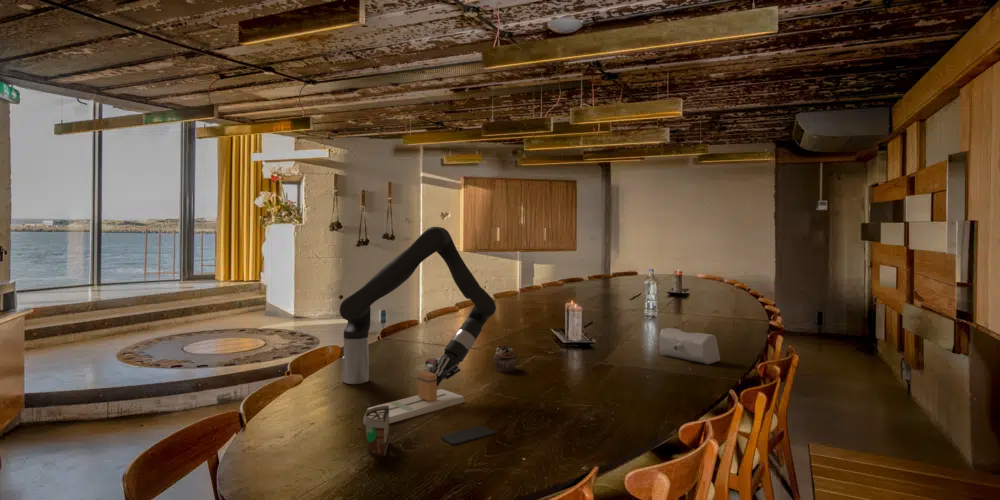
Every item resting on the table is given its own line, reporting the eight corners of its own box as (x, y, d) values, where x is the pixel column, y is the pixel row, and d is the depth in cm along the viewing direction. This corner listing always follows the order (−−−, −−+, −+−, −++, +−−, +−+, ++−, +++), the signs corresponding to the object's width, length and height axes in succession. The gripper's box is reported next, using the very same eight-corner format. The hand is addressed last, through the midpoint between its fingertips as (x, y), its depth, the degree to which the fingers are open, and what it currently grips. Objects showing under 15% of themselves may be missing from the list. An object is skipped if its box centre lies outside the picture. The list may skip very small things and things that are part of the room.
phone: (496, 432, 160) (452, 444, 151) (496, 435, 160) (452, 447, 151) (482, 425, 165) (438, 436, 156) (481, 427, 165) (438, 438, 156)
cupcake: (520, 370, 230) (520, 346, 230) (501, 374, 225) (501, 349, 224) (507, 365, 238) (507, 342, 238) (488, 369, 232) (488, 345, 232)
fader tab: (425, 395, 188) (425, 371, 188) (436, 399, 184) (436, 374, 184) (418, 397, 186) (417, 373, 186) (429, 401, 182) (428, 376, 181)
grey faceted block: (651, 357, 255) (651, 330, 254) (671, 352, 265) (671, 326, 264) (701, 367, 235) (701, 338, 235) (720, 361, 245) (721, 334, 245)
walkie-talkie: (420, 365, 239) (435, 377, 221) (420, 355, 239) (435, 366, 221) (439, 363, 243) (455, 374, 225) (439, 353, 243) (455, 364, 225)
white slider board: (441, 394, 197) (441, 388, 197) (463, 402, 188) (463, 396, 188) (367, 414, 176) (367, 407, 176) (388, 423, 167) (388, 417, 167)
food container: (367, 440, 154) (366, 405, 154) (389, 440, 155) (389, 404, 154) (359, 459, 142) (359, 420, 142) (383, 458, 142) (383, 420, 142)
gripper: (442, 336, 197) (414, 376, 189) (466, 341, 188) (438, 384, 180) (453, 348, 201) (426, 388, 193) (478, 354, 192) (450, 397, 184)
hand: (432, 386), depth 186 cm, fingers closed
